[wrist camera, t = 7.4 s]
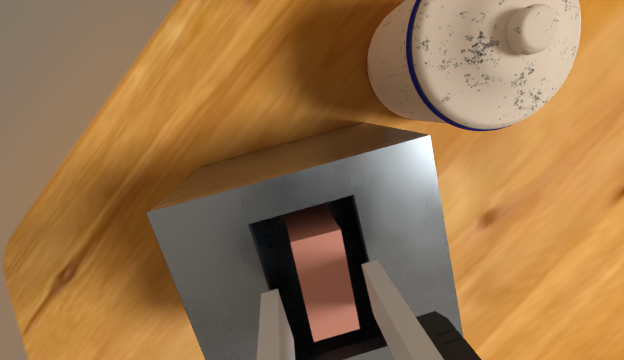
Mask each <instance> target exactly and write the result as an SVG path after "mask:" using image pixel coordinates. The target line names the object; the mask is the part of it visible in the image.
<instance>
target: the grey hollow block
mask: <svg viewBox="0 0 624 360" xmlns="http://www.w3.org/2000/svg"><path fill="white" fill-rule="evenodd" d="M322 203H324V205H325V206H326V208H327V209H328V211H329V212H330V214H331V215H332V217H333V218H334V220H335V221H336V223H337V224H338V226H339V227H340V229H341V233H342V238H343V243H344V249H345V254H346V259H347V264H348V269H349V275H350V280H351V285H352V290H353V295H354V301H355V306H356V311H357V316H358V321H359V327H360V329H357V330H354V331H350V332H347V333H343V334H340V335H337V336H333V337H330V338H326V339H323V340H319V341H316V342H314V340H313V336H312V332H311V328H310V323H309V319H308V315H307V311H306V307H305V302H304V298H303V294H302V290H301V285H300V281H299V277H298V273H297V268H296V264H295V260H294V256H293V252H292V247H291V243H290V239H289V235H288V230H287V226H286V222H285V217H284V214H286V213H290V212H294V211H297V210H301V209H304V208H308V207H311V206H315V205H319V204H322ZM146 214H147V216H148V219H149V221H150V223H151V226H152V228H153V231H154V233H155V236H156V238H157V241H158V243H159V246H160V248H161V251H162V253H163V256H164V258H165V261H166V263H167V266H168V268H169V271H170V273H171V276H172V278H173V280H174V283H175V285H176V288H177V290H178V293H179V295H180V298H181V300H182V303H183V305H184V308H185V310H186V313H187V315H188V318H189V320H190V323H191V325H192V328H193V330H194V333H195V335H196V337H197V340H198V342H199V345H200V347H201V350H202V352H203V355H204V357H205V360H257V347H258V333H259V318H260V304H261V294H262V293H265V292H268V291H272V290H275V289H278V291H279V295H280V298H281V301H282V304H283V307H284V310H285V314H286V317H287V320H288V323H289V326H290V329H291V333H292V336H293V339H294V351H295V360H395V359H394V357H393V355H392V353H391V351H390V349H389V347H388V345H387V342H386V340H385V338H384V336H383V334H382V332H381V330H380V328H379V325H378V323H377V321H376V319H375V317H374V315H373V311H372V307H371V302H370V298H369V294H368V290H367V286H366V282H365V277H364V273H363V269H362V265H361V264H364V263H368V262H371V261H375V260H378V261H379V263H380V264H381V266H382V267H383V269H384V270H385V272H386V274H387V275H388V277H389V278H390V280H391V281H392V283H393V284H394V286H395V287H396V289H397V290H398V292H399V293H400V295H401V296H402V298H403V299H404V301H405V302H406V304H407V305H408V307H409V308H410V310H411V311H412V313H413V314H414V316H415V317H417V316H420V315H424V314H427V313H430V312H434V311H436V312H438V313H439V314H441V315H443V316H445V317H446V318H448V319H449V320H450V322H451V323H452V324H453V325H454V327H455V328H456V330H457V331H458V332H459V333H460V334H461V335H462V336H463V333H462V327H461V320H460V314H459V308H458V302H457V296H456V290H455V284H454V278H453V272H452V266H451V260H450V254H449V247H448V241H447V235H446V229H445V223H444V217H443V211H442V205H441V199H440V193H439V187H438V181H437V174H436V168H435V162H434V156H433V150H432V144H431V138H430V135H427V134H422V133H417V132H412V131H407V130H401V129H396V128H391V127H386V126H381V125H376V124H371V123H361V124H357V125H354V126H350V127H346V128H343V129H339V130H335V131H331V132H328V133H324V134H320V135H317V136H313V137H309V138H305V139H302V140H298V141H294V142H291V143H287V144H283V145H279V146H276V147H272V148H268V149H265V150H261V151H257V152H253V153H250V154H246V155H242V156H239V157H235V158H231V159H228V160H224V161H220V162H216V163H213V164H209V165H205V166H202V167H200V168H199V169H198V170H196V171H195V172H194V173H193V174H192V175H191V176H189V177H188V178H187V179H186V180H185V181H183V182H182V183H181V184H180V185H179V186H177V187H176V188H175V189H174V190H173V191H172V192H170V193H169V194H168V195H167V196H166V197H164V198H163V199H162V200H161V201H160V202H159V203H157V204H156V205H155V206H154V207H153V208H151V209H150V210H149V211H148V212H147V213H146Z"/></svg>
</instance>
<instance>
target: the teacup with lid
mask: <svg viewBox="0 0 624 360" xmlns="http://www.w3.org/2000/svg"><path fill="white" fill-rule="evenodd" d="M580 33H581V13H580V6H579V1H578V0H405V1H404V2H402V3H401V4H400V5H399V6H397V7H396V8H395V9H394V10H392V11H391V12H390V13H389V14H388V15H387V16H386V17H385V18H384V19H383V20H382V22H381V23H380V24H379V26H378V28H377V29H376V31H375V33H374V35H373V37H372V40H371V43H370V46H369V51H368V58H367V68H368V76H369V80H370V83H371V86H372V88H373V91H374V93H375V94H376V96H377V98H378V99H379V100H380V102H381V103H382V104H383V105H384V106H385V107H386V108H387V109H389V110H390V111H391V112H393V113H395V114H397V115H399V116H401V117H404V118H407V119H412V120H421V121H430V122H440V123H449V124H451V125H453V126H456V127H459V128H462V129H466V130H472V131H491V130H497V129H502V128H505V127H508V126H510V125H513V124H515V123H518V122H520V121H522V120H524V119H526V118H528V117H529V116H531V115H532V114H534V113H535V112H536V111H538V110H539V109H540V108H541V107H543V106H544V105H545V104H546V103H547V102H548V101H549V100H550V99H551V98H552V97H553V96H554V95H555V93H556V92H557V91H558V90H559V88H560V87H561V85H562V84H563V82H564V81H565V79H566V77H567V76H568V74H569V72H570V70H571V67H572V65H573V63H574V60H575V57H576V54H577V50H578V46H579V40H580Z"/></svg>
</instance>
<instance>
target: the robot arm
mask: <svg viewBox="0 0 624 360" xmlns="http://www.w3.org/2000/svg"><path fill="white" fill-rule="evenodd" d="M361 265H362V269H363V273H364V277H365V282H366V286H367V290H368V294H369V298H370V302H371V307H372V311H373V315H374V317H375V319H376V321H377V323H378V325H379V328H380V330H381V332H382V334H383V336H384V338H385V340H386V342H387V345H388V347H389V349H390V351H391V353H392V355H393V357H394V359H395V360H481V359H480V357H479V356H478V355H477V354H476V352H475V351H474V350H473V349H472V348H471V346H470V345H469V344H468V343H467V341H466V340H465V339H463V336H462V335H461V334H460V333H459V332H458V331H457V330H456V328H455V327H454V325H453V324H452V323H451V322H450V320H449V319H448V318H446V317H445V316H443V315H441V314H439V313H438V312H436V311H434V312H430V313H427V314H424V315H420V316H417V317H415V316H414V314H413V313H412V311H411V310H410V308H409V307H408V305H407V304H406V302H405V301H404V299H403V298H402V296H401V295H400V293H399V292H398V290H397V289H396V287H395V286H394V284H393V283H392V281H391V280H390V278H389V277H388V275H387V274H386V272H385V270H384V269H383V267H382V266H381V264H380V263H379V261H378V260H375V261H371V262H368V263H364V264H361ZM257 360H295V351H294V339H293V336H292V333H291V329H290V326H289V323H288V320H287V317H286V314H285V310H284V307H283V304H282V301H281V298H280V295H279V291H278V289H275V290H272V291H268V292H265V293H262V294H261V304H260V318H259V333H258V347H257Z"/></svg>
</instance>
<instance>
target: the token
mask: <svg viewBox="0 0 624 360" xmlns="http://www.w3.org/2000/svg"><path fill="white" fill-rule="evenodd" d="M284 217H285V222H286V226H287V230H288V235H289V239H290V243H291V247H292V252H293V256H294V260H295V264H296V268H297V273H298V277H299V281H300V285H301V290H302V294H303V298H304V302H305V307H306V311H307V315H308V319H309V323H310V328H311V332H312V336H313V340H314V342H316V341H319V340H323V339H326V338H330V337H333V336H337V335H340V334H343V333H347V332H350V331H354V330H357V329H360V327H359V321H358V316H357V311H356V306H355V301H354V295H353V290H352V285H351V280H350V275H349V269H348V264H347V259H346V254H345V249H344V243H343V238H342V233H341V229H340V227H339V226H338V224H337V223H336V221H335V220H334V218H333V217H332V215H331V214H330V212H329V211H328V209H327V208H326V206H325V205H324V203H322V204H319V205H315V206H311V207H308V208H304V209H301V210H297V211H294V212H290V213H286V214H284Z"/></svg>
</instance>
